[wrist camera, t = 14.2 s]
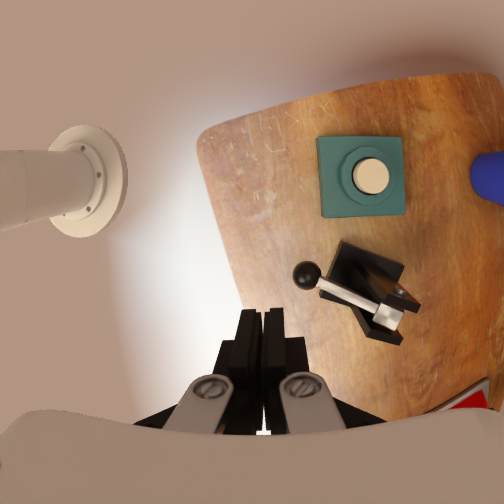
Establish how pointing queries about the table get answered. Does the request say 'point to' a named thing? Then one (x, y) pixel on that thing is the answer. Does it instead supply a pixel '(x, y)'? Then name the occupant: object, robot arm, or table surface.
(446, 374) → the table surface
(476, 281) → the table surface
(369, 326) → the bracket
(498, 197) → the mug
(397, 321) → the lever
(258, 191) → the table surface
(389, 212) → the button block
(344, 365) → the table surface
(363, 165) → the button
